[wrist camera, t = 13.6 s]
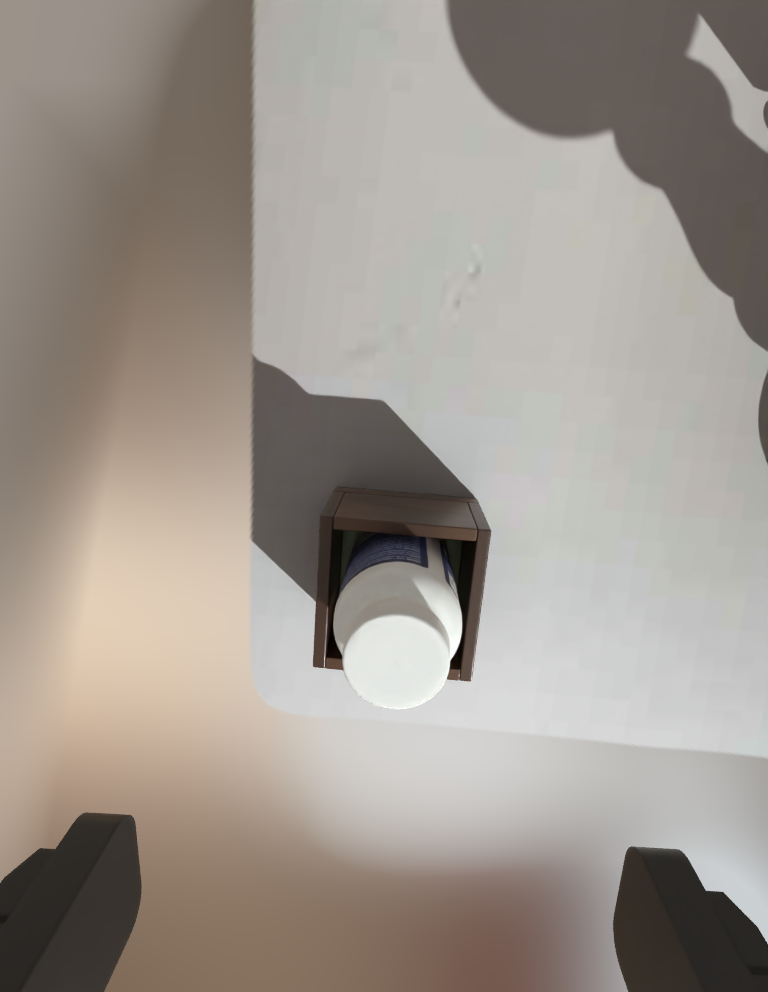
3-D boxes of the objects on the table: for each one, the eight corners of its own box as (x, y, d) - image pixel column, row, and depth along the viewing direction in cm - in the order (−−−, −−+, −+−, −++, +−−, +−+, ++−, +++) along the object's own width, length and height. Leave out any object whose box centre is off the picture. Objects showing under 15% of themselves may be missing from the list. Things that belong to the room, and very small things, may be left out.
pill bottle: (329, 574, 30) (293, 676, 21) (387, 496, 29) (377, 567, 20) (411, 629, 31) (412, 751, 21) (471, 554, 30) (500, 650, 20)
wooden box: (328, 615, 32) (312, 667, 27) (335, 486, 30) (319, 515, 25) (461, 626, 32) (471, 682, 27) (477, 498, 30) (491, 530, 25)
